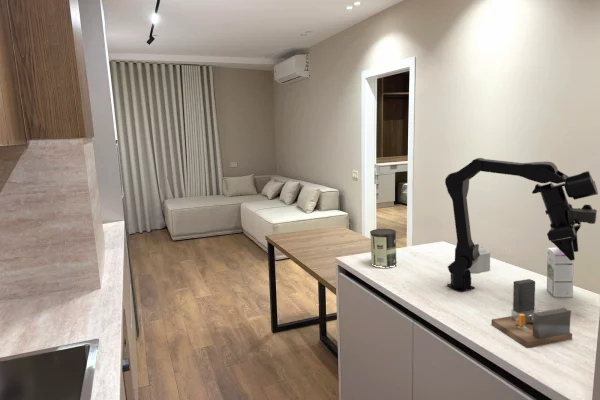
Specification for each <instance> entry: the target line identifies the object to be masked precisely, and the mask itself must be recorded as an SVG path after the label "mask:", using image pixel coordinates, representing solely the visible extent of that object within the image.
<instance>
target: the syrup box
mask: <svg viewBox="0 0 600 400" xmlns="http://www.w3.org/2000/svg"><path fill="white" fill-rule="evenodd" d="M546 260H547V266H546V267H547V268H546V269H547V270H546V291H547V292H548V293H549V294H550V295H551V296H552V297H554V298H573V296H574V271H575V270H574V262H575V260H569V258H568V257H567V256H566V255H565V254H564V253H563V252H562V251H561V250H560V249H559V248H558V247H557V246H556V247H547V259H546Z"/></svg>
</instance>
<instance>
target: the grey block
mask: <svg viewBox="0 0 600 400" xmlns="http://www.w3.org/2000/svg"><path fill="white" fill-rule="evenodd" d="M483 247H484V246H482V245H481V244H479V254H480V256H479V257H478V261H477V262H476V263H475V264H474V265H473V266H472V267H471V268H470V269H469V270H470V272H471V275H473V274H475V275H476V274H481V273H485V272H490V271H491V251H490V250H488V249H486V248H483ZM455 250H456V247H455V248H454V251H455Z"/></svg>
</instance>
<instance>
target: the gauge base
mask: <svg viewBox="0 0 600 400" xmlns="http://www.w3.org/2000/svg"><path fill="white" fill-rule="evenodd" d="M571 313H572V312H571V310H569V309H567V308H565V307H560V308H555V309H549V310H543V311H540V312H536V313H533V322H532V323H526V324H525V326H522V327H521V326H519V325H518V324H517V323H516V322H515V320H514V319H512V318H511V315H509V316H505V317H498V318H493V319H491V325H492V326H493V327H494V328H496V329H498V330H499V331H501V332H502V333H503V334H505V335H507V336H508V337H510V338H511V339H513V340H514V341H516V342H518V343H519V344H520V345H522V346H524V347H525V348H526V349H529V348H533V347H534V348H535V347H538V346H540V347H541V346H544V345H549V344H555V343H560V342H566V341H570V340H573V333H572V332H570V331H571Z"/></svg>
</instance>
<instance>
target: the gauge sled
mask: <svg viewBox="0 0 600 400" xmlns="http://www.w3.org/2000/svg"><path fill="white" fill-rule="evenodd" d="M512 289H513V290H512V291H513V295H512V296H513V297H512V299H513V302H512V309H511V313H510V316H511V318H512V319H514V320H515V322H516V323H517V324H518V316H519V314H524V315H525V324H526V323H532V322H533V313H536V312H541V311H540V310H538V309H536V308H535V305H536V304H535V302H536V301H535V300H536V281H535V280H534V279H533V280H532V279H531V278H527V279H522V280H521V279H520V280H514V281H513V288H512Z"/></svg>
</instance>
